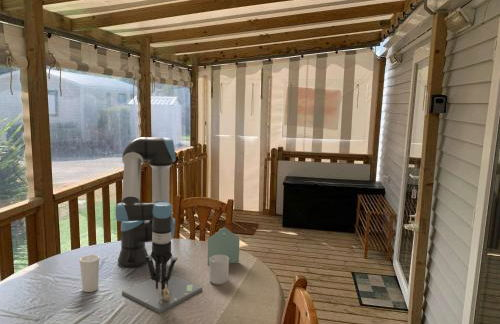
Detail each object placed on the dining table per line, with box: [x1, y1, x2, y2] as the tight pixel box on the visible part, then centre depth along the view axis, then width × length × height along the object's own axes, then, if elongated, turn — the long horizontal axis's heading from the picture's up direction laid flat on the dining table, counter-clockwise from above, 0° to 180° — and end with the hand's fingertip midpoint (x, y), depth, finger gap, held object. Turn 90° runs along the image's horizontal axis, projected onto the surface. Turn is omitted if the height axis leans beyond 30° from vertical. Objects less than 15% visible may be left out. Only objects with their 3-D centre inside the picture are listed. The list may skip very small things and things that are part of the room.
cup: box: [79, 254, 100, 293], centre depth 161 cm, size 8×8×14 cm
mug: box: [208, 255, 230, 286], centre depth 175 cm, size 12×9×11 cm
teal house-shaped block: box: [207, 226, 240, 265], centre depth 196 cm, size 16×8×20 cm, turn 100°
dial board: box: [121, 272, 203, 314], centre depth 161 cm, size 24×24×2 cm
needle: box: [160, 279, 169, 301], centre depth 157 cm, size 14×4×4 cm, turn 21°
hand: (160, 296), depth 153 cm, fingers closed
